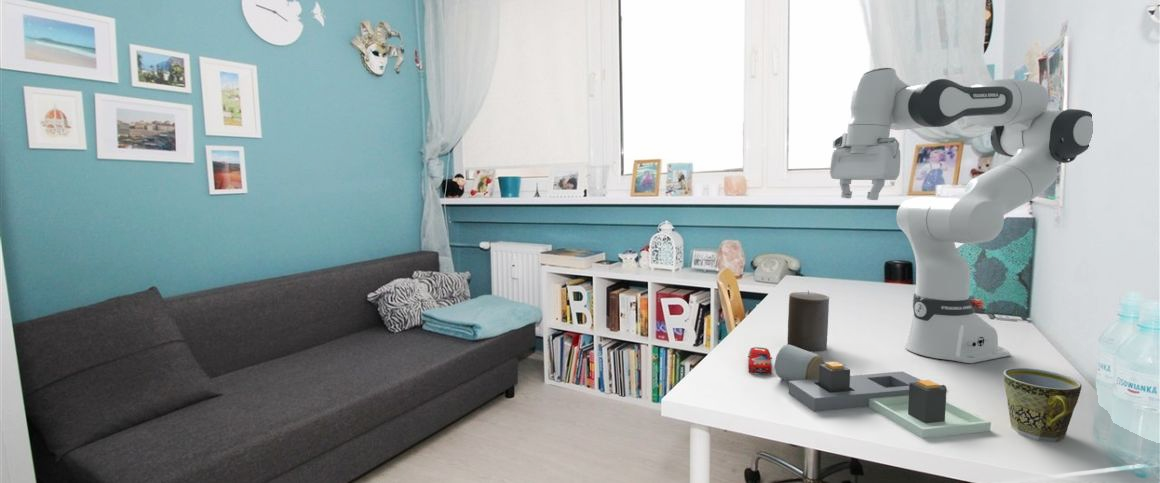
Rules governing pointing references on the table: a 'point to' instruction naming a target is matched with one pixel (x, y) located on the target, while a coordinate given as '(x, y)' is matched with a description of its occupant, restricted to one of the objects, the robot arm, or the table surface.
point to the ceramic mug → (797, 364)
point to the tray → (953, 424)
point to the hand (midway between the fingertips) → (858, 199)
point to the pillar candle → (808, 321)
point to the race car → (759, 361)
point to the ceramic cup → (1040, 402)
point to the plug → (927, 401)
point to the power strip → (848, 388)
